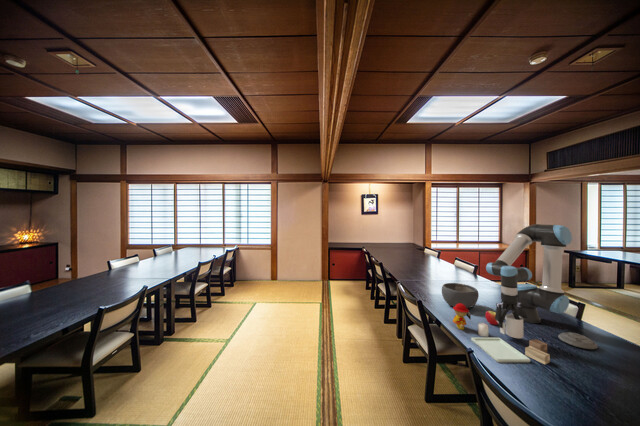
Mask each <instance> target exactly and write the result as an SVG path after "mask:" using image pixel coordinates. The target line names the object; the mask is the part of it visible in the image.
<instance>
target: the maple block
mask: <svg viewBox="0 0 640 426" xmlns="http://www.w3.org/2000/svg"><path fill="white" fill-rule="evenodd" d="M524 351H525V353H524V355H525V356H526V357H528V358H529V359H533V360H535V361H537V362H539V363H541V364H543V365H548V364H550V363H551V361H550V358H551V357H550V353H548V352H547V353H545V352H542V351H540V350H538V349H536V348H533V347H531V346H529V345H528V346H526V347H525V348H524Z"/></svg>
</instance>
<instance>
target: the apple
mask: <svg viewBox="0 0 640 426" xmlns="http://www.w3.org/2000/svg"><path fill="white" fill-rule="evenodd" d="M489 309H490V310H487V311H486V312H485V315H484V316H485V319H486V321H487V322H488V323H489V324H490V325H493V326H494V325H495V326H497V325H498V326H499V324H498V322H497V320H495V316H496V311H493V310H492V309H491V308H489Z"/></svg>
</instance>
